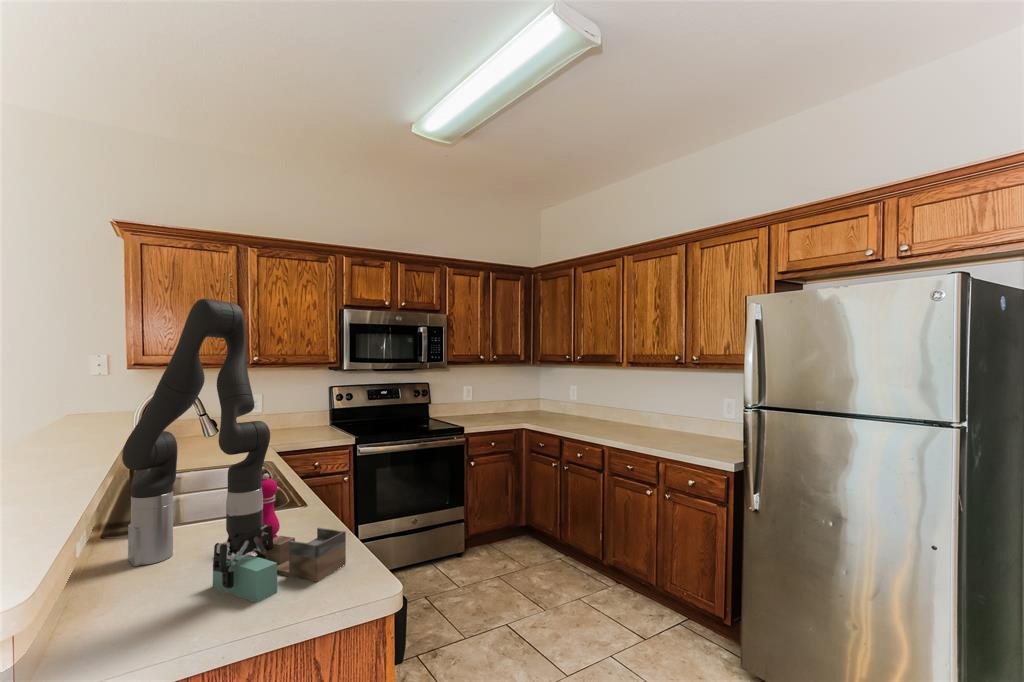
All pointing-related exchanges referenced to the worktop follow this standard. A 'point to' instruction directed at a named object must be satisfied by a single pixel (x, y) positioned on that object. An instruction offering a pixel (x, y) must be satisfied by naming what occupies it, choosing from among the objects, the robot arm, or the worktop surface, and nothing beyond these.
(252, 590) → the teal rectangular block
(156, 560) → the robot arm
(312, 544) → the bracket stand
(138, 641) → the worktop surface
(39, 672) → the worktop surface
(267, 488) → the pepper mill
